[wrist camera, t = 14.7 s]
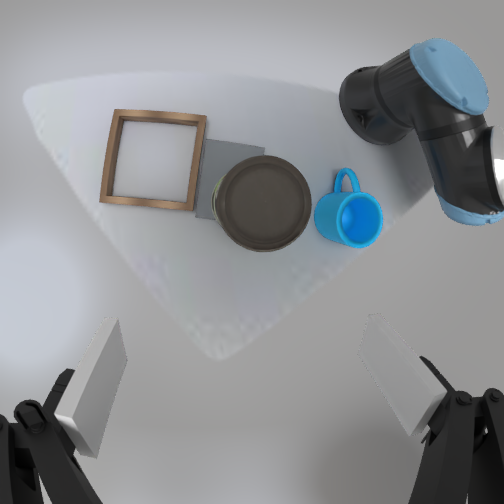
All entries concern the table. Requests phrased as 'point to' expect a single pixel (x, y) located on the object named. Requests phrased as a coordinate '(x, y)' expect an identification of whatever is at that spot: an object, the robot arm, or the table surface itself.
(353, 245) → the mug
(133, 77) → the table surface
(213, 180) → the mat
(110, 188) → the crate
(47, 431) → the robot arm
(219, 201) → the coffee can
